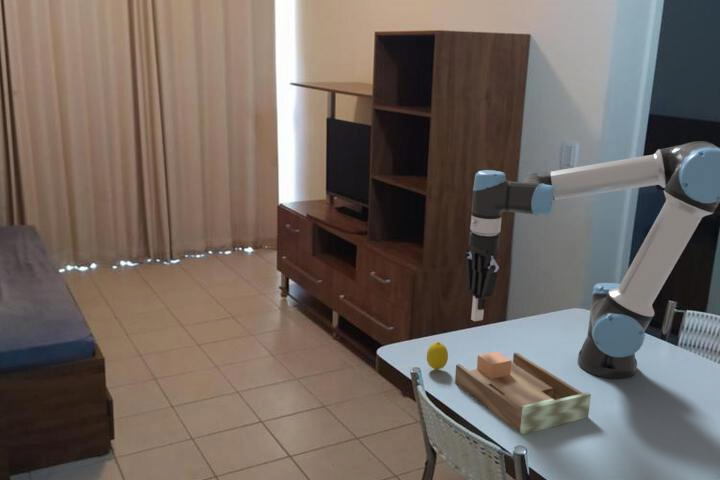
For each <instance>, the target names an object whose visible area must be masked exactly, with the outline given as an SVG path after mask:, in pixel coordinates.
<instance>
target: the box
mask: <svg viewBox="0 0 720 480" xmlns="http://www.w3.org/2000/svg"><path fill="white" fill-rule="evenodd" d="M454 378H455V379H454V384H456V385H457V386H459V387H460V388H461V389H463V390H464V391H465V392H466V393H467V394H469V396H470V395H471V396H472V397H473V398H475V400H477V401H478V402H479V403H481V404H482V405H484V406H485V407H486V408H487V409H488V410H490V411H491V412H493V413H494V414H495V415H497V416H498V417H499V418H501V419H502V420H503V421H504V422H506V423H507V424H508V425H509V426H511V427H513V428H514V429H515V430H516V431H517V432H519V433H520V434H522V435H526V434H527V435H528V434H530V433H533V432H537V431H542V430H545V429H549V428H553V427H556V426H560V425H564V424H567V423H572V422H576V421H578V420H579V421H580V420H583V419H587V418H589V414H590V406H591V398H592V394H591V393H590V392H588V391H586V392H582V391H580V390H579V389H577V388H575V387H574V386H572V385H571V384H569V383H567V382H565V380H562V379H560V378H559V377H557V376H556V375H554V374H552V373H551V372H549V371H548V370H546V369H545V368H543V367H541V366H539V365H538V364H536V363H534V362H533V361H531V360H530V359H528V358H527V357H525V356H523V355H521V354H520V353H519V352H513V357H512V361H511V372H510V375H508V376H503V377H498V378H494V379H490V378H488V377H487V376H486V375H484V374H483V373H481V372H480V371H478V370H477V368H476V369H472V370H469V369H467V367H465V366H463V365H461V364H460V363H457V364H456V365H455V376H454Z"/></svg>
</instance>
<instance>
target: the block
mask: <svg viewBox="0 0 720 480" xmlns="http://www.w3.org/2000/svg"><path fill="white" fill-rule="evenodd" d="M511 362H513V359H512V360H511V358H509V357H507V356H505V355H504V354H502V353H501V352H499V351H497V350H496V351H491V352H487V353H481V354H477V362H476V369H477V370H478V371H480V372H481V373H483V374H484V375H486V376H487V377H488V378H490V379H494V378H498V377H503V376H508V375H510V372H511Z"/></svg>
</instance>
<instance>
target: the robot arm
mask: <svg viewBox="0 0 720 480" xmlns="http://www.w3.org/2000/svg"><path fill="white" fill-rule="evenodd" d="M657 185H658V186H660V187H661V188H663V189H664V190H663V193H664V197H665V202H664V204H663V205H662V208H661V209H660V212H659V213H658V215H657V216H656V218H655V220H654V222H653V224H652V226H651V227H650V229H649V231H648V233H647V235H646V236H645V238H644V240H643V243H641V246H640V247H639V249H638V251H637V253H636V255H635V257H634V258H633V261H632V262H631V264H630V265H629V267H628V268H627V271H626V273H625V275H624V276H623V279H622V281H620V283H614V282H599V283H596V284H595V285H594V286H593V287H592V288H593V289H592V292H591V303H590V312H589V321H588V329H587V336H586V338H585V339H584V342H583V343H582V344H583V345H582V347H581V349H580V350H579V352H578V356H577V364H578V366H579V367H580V368H581V369H582V370H584V371H585V372H588V373H589V374H592V375H594V376H597V377H601V378H607V379H627V378H630V377H633V376H634V375H635V374H636V373H637V368H638V360H637V358H636V353H638V351H639V350H640V349H641V348H642V346H643V344H644V342H645V337H646V335H645V331H646V329H647V328H648V327H649V324H650V323H651V321H652V319H653V318H654V316H655V310H654V308H653V304H654V302H655V300H656V298H657V297H658V295H659V294H660V291H661V290H662V288H663V286H664V285H665V283H666V281H667V279H668V277H670V275H671V273H672V271H673V269H674V267H675V265H676V264H677V263H678V260H679V259H680V257H681V256H682V253H683V252H684V250H685V248H686V247H687V244H688V243H689V241H690V240H691V238H692V237H693V235H694V232H695V231H696V229H697V227H698V225H699V224H700V222H701V221H702V218H704V217H706V216H710V215H713V214H714V212H715V210H716V208H718V205H719V204H720V147H719V146H717V145H715V144H714V143H712V142H708V141H704V140H703V141H702V140H701V141H692V142H687V143H683V144H680V145H674V146H670V147H666V148H660V149H659V148H658V149H657V150H656V151H655V153H653V154H649V155H642V156H637V157H630V158H625V159H617V160H611V161H605V162H601V163H594V164H588V165H580V166H576V167H570V168H564V169H557V170H552V171H546V172H540V173H539V172H535V171H533V172H528V173H526V174H525V175H523V176H522V177H521V178H520V179H519V181H511V180H507V178H506V173H505V172H503V171H499V170H494V169H493V170H491V169H485V170H479V171H477V172H476V173H475V175H474V182H473V188H472V201H471V217H470V226H469V228H470V229H469V230H470V232H469V237H468V246H469V247H470V251H468V252H464V260H465V268H466V284H467V285H466V288H467V290H468V291H470V293H471V295H472V297H471V314H470V315H471V317H470V320H471V321H473V322H479V321H483V320H484V315H485V313H484V311H485V308H486V299H487V298H492V296H493V293H494V289H495V286H496V281H497V278H498V275H499V272H500V270H501V269H502V265H501V264H498V263H497V261H496V251H497V250H498V249H499V246H500V238H501V235H500V233H501V228H502V227H501V226H502V217H503V215H502V213H503V212H509V213H510V212H511V213H517V214H518V213H519V214H527V215H535V216H549V215H551V214H552V212H553V205H554V201H558V200H563V199H565V200H566V199H570V198H577V197H583V196H589V195H590V196H591V195H597V194H605V193H609V192H611V193H612V192H617V191H624V190H630V189H637V188H644V187H652V186H657Z"/></svg>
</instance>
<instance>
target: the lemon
mask: <svg viewBox="0 0 720 480" xmlns="http://www.w3.org/2000/svg"><path fill="white" fill-rule="evenodd" d="M448 360H449V353H448V349H447V347H446V345H445V344H443V343H441V342H439V341H437V342H433V343H432V344H430V346H429V347H428V349H427V350H426V361H427V364H428V365H429V367H430V368H432V369H433V370H435V371H439V370H441V369H442V368H443V369H444V367H446V365H447V363H448Z"/></svg>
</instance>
